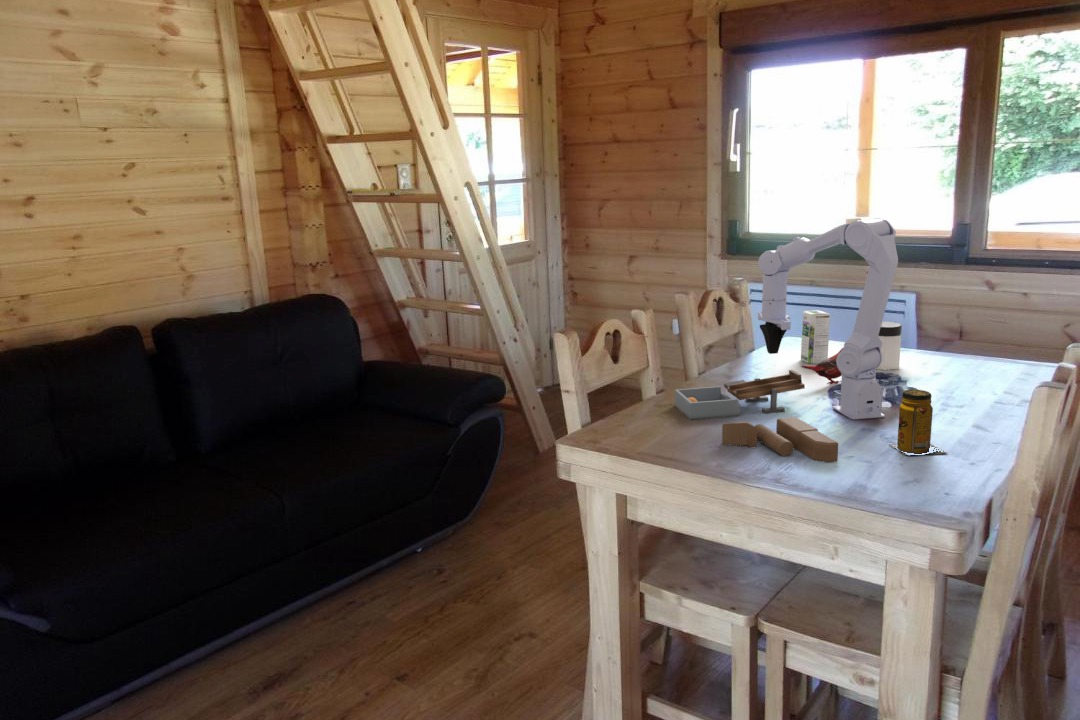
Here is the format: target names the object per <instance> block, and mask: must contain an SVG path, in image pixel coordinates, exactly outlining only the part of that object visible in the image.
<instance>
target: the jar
mask: <svg viewBox="0 0 1080 720" xmlns="http://www.w3.org/2000/svg"><path fill="white" fill-rule="evenodd" d="M902 327H903V326H902V324H901V323H899V322H893V321H882V324H881V328H880V331H879V335H878V337H879V339H880V340H881V341H882V347H881V352H882V362H881V364H880V366H879V367H878V368H876V370H879V369H885V370H884V371H891V370H890V369H894V370H899V368H900V360H901V359H900V358H901V357H900V356H901V344H902V343H901V341H902ZM887 369H888V370H887Z"/></svg>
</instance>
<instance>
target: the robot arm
mask: <svg viewBox="0 0 1080 720" xmlns="http://www.w3.org/2000/svg"><path fill="white" fill-rule="evenodd" d="M896 234H897V231H896V229H895V228H894V227H893V225H892V224H891V223H890V222H889V221H888V220H887V219H886V218H883V217H876V218H873V219H865V220H853V221H852V222H849V223H845V224H841V225H839V226H837V227H834V228H832V229H830V230H828V231H826V232H824V233H822V234H820V235H818V236H816V237H813V238H812V239H809V238H806V237H800V236H797V237H794V238H792V241H791V242H789V243H787V244H780V245H777V246H776V249H774V250H765V251H764V252H763V253H761V255H760V256H759V258H758V261H757V262H758V264H757V265H758V269H759V270H760V272H761V273H762V296H761V297H762V301H761V303H762V304H761V311H758V312H757V320H758V321H763V322H765V323H764V324H760V325H759V329H760V330H761V332H762V335H763V338H764V341H765V347H766V351H767V353H768V354H771V355H772V354H775V355H776V354H778V353H779V350H780V347H781V344H782V343H781V342H782V341H783V339H784V338H783V337H784V335H785V334H786V332H787V330H788V331H789V330H791V325H792V324H791V321H790V319H791V316H790V315H788V314H787V294H788V292H787V290H788V288H787V287H788V286H787V285H788V278H789V272H790V271H791V270H792V269H793V268H796V267H798V266H800V265H803V264H805V263H808V262H810V261H813V260H814V258H815V255H816V253H819V252H820V251H824V250H826V249H829V248H832V247H835V246H837V245H839V244H840V245H843V246H846V245H847V246H848V247H849V248H850V249H852V250H853V251H855V253H857V254H858V255H859V256H860V257H862V258H863V259H864V260H865V262H866V263H867V264H868V266H869V268H868V271H867V275H866V280H865V284H864V287H863V292H862V296H861V300H860V304H859V307H858V311H857V315H856V318H855V323H854V327H853V331H852V332H851V334H850V336H849V337H848V338H847V339H846V340H845V342H844V343H843V347H842V348H843V349H842V348H841V349H842V351H841V352H840V353H839V354H838V356H837V359H836V364H837V367H838V369H839V371H840V372H841V376H840V377H841V381H842V382H840V386H841V388H840V405H833V406H832V409H833V410H835V411H837V412H839V413H840V414H843V415H844V416H845V417H847V418H849V419H851V420H866V419H875V418H876V419H878V418H885V416H886V414H884V413H882V411H883V410H882V408H883V394H884V393H883V388H882V386H881V384H880V383H879V382H878V381H877V378H876V374H877V369H876V368H878V367H879V366H880V364H881V362H882V352H881V347H882V341H881V340H880V339H879V337H878V335H879V331H880V328H881V324H882V322H883V320H884V316H885V312H886V308H887V305H888V302H889V298H890V293H891V290H892V287H893V284H894V280H895V275H896V272H897V268H898V264H899V257H898V252H897V247H896V241H895V238H896Z"/></svg>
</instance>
